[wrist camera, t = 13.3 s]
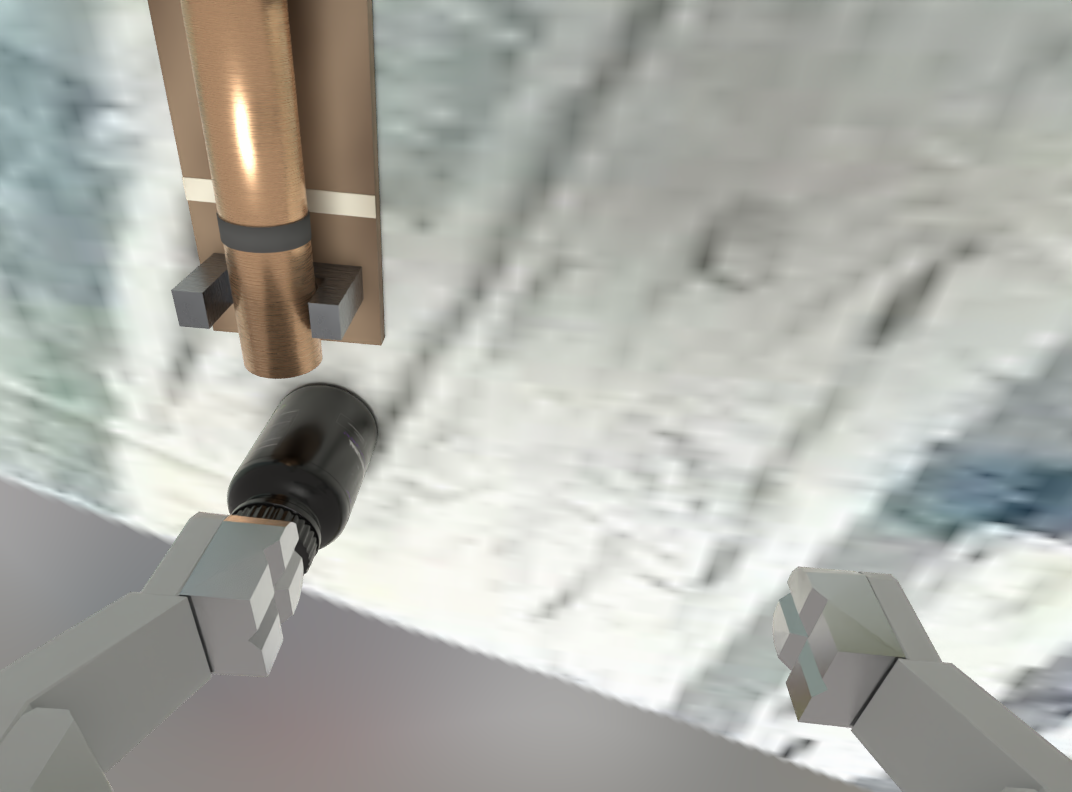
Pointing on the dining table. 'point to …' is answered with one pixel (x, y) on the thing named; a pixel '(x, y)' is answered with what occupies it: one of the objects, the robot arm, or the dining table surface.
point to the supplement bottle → (307, 466)
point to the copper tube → (257, 176)
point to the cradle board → (326, 138)
